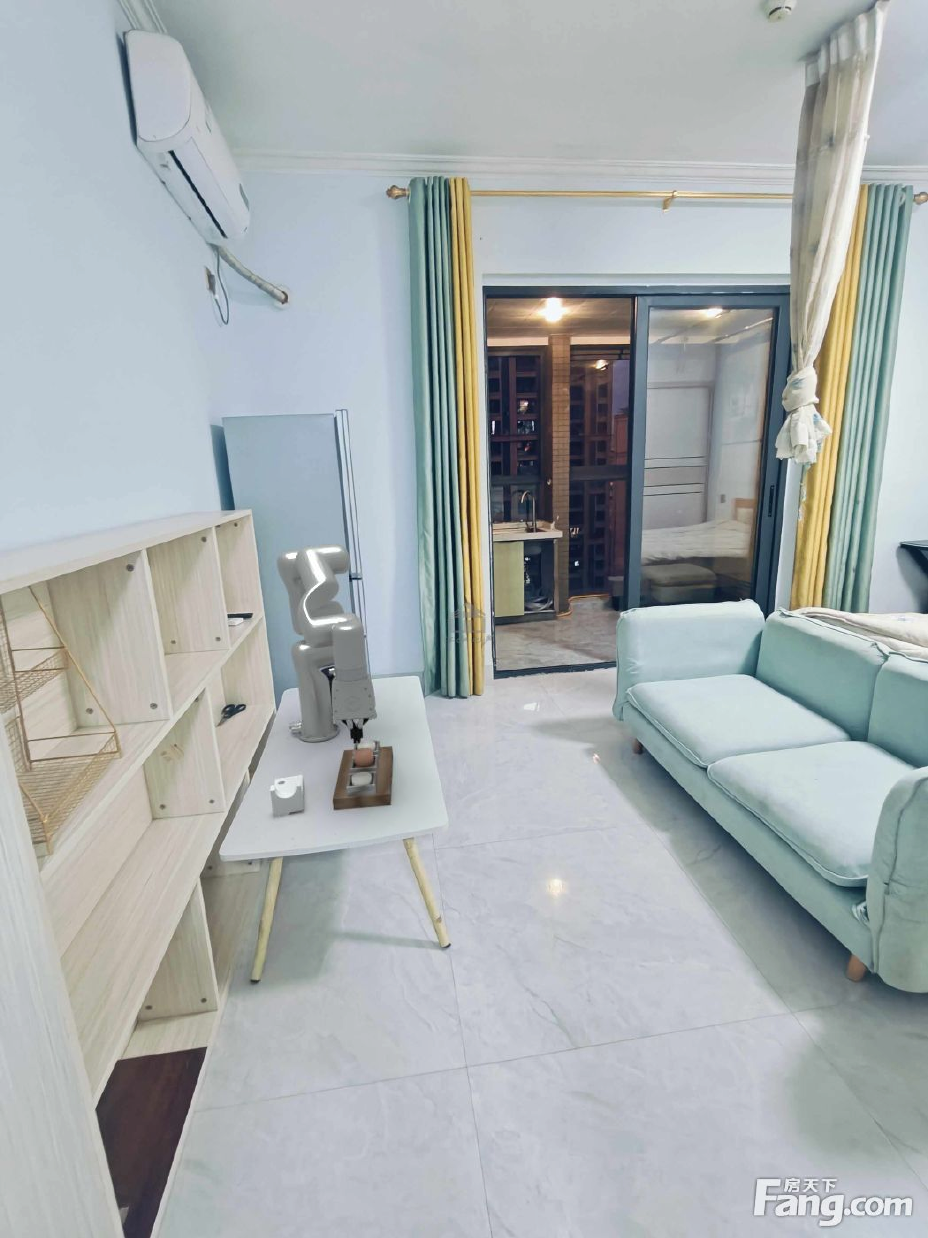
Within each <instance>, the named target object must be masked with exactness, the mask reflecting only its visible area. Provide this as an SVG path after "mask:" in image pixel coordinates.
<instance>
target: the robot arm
mask: <svg viewBox="0 0 928 1238" xmlns="http://www.w3.org/2000/svg"><path fill="white" fill-rule="evenodd" d="M349 554H350V553H349V551H348V549H346V547H345V546H344V545H342V544H340V543H331V544H320V545H311V546H310V545H309V546H306V547H302V548H300V549H299V548H297V549H292V550H287V551H284V552H281V553H280V554H279V555H278V556H277V559H276V566H277V571H278V574H279V576H280V579H281V581H282V582H283V584H284V587H285V588H286V591H287V595H288V603H289V611H290V619H291V624H292V629H293V631H294V632H295V633H296V634H297V635H298V636H302V637H303V638H304V639H301V640H298V641H296V642H295V643H293V644H292V646H291V649H290V656H291V660H292V664H293V669H294V670H295V675H296V683H297V690H298V697H299V704H300V705H299V707H300V713H301V714H300V715H301V721H299V722H289V724H288V728H289V730H291V732H297V731H298V737H299V739H300V740H301V741H304V742H307V743H308V742H309V743H318V742H319V743H320V742H323V741H324V742H325V741H327V740H330V739H333V738H334V737H336V736H337V735H338V734H339V733H340V728H339V725H338V724H336V723H337V722H338V723H342V724H344V725H345V726H346V727H347V728H348V730H349V734H350V740H352V741H353V742H352V743H353V745H355V744H356V743H360V742H362V741H361V739H364V728H363V727H364V726H365V725H366V724H367V723H368V722H369V721H372V720H376V719H377V718H378V713H377V710H376V697H375V690H374V685H373V681H372V677H371V674H370V673H368V666H367V665H368V663H367V655H366V654H367V653H366V651H367V650H366V642H365V641H366V639H365V638H366V637H365V629H364V628H365V627H364V625H363V624H362V623H363V622H362V620H361V618H360V617H358V615H357V614H355V613H354V612H346V613H345V611H344V607H343V606H342V605H341V602H338V601H336V600H333V599H335V598H336V596H337V595H338V593H339V590H340V585H339V582H338V580H337V577H336V575H343V574H346V573H347V572H349V571H350V568H351V558H350V555H349ZM331 666H335V667H334V668H332V669H329V674H333V675H334V676H335V677H334V679H333V682H332V705H331V696H330V686H329V680H328V678H327V677H326V675H325V674H324V673H322V672H321V670H320V669H324V668H327V667H331ZM332 711H333V714H332ZM355 720H357V723H356V722H355ZM334 722H336V723H334Z"/></svg>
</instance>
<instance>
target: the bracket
mask: <svg viewBox="0 0 928 1238" xmlns="http://www.w3.org/2000/svg"><path fill="white" fill-rule="evenodd" d="M303 776H304V775H303V774H299V775H294V776H288V777H281V778H275V779H274V784H273V785H270V788H269V791H270V792H269V793H270V797H271V805H272V811H273V813H272V814H273V818H278V817H279V818H280V817H285V816H290V813H294V812H295V813H296V812H299V811H304V809H305V806H304V805H305V801H304V800H305V789H304V788H305V785H304V784H305V783H304V777H303Z"/></svg>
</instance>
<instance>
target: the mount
mask: <svg viewBox="0 0 928 1238" xmlns="http://www.w3.org/2000/svg"><path fill="white" fill-rule="evenodd" d="M373 741H374V742H375V747H376V751H373V759H374V762H373V764H371V765H370V766H366V767H358V766H356V765H355V761H354V752H355V751H356V750H357V749H358V748H357V745H358V743H356V744H353V745H354V746H353V749H352V748H351V749H344V750H343V752H342V756H341V760H340V765H339V770H338V773H337V774H338V775H337V778H336V783H335V786H334V787H335V788H334V792H333V796H332V805H333V811H338V810H348V809H349V810H350V809H360V808H371V807H381V806H391V805H392V787H393V784H392V783H393V782H392V781H393V765H394V764H393V762H394V751H393V746H392V745H390V746H389V745H388V746H381V742H380V741H381V740H380V739H377V740H376V739H375V740H373ZM359 772H368V773H370V774H371V776H372V784H370V785H358V786H352V779H351V778H352V776H353V775H354V774H356V773H359Z"/></svg>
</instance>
